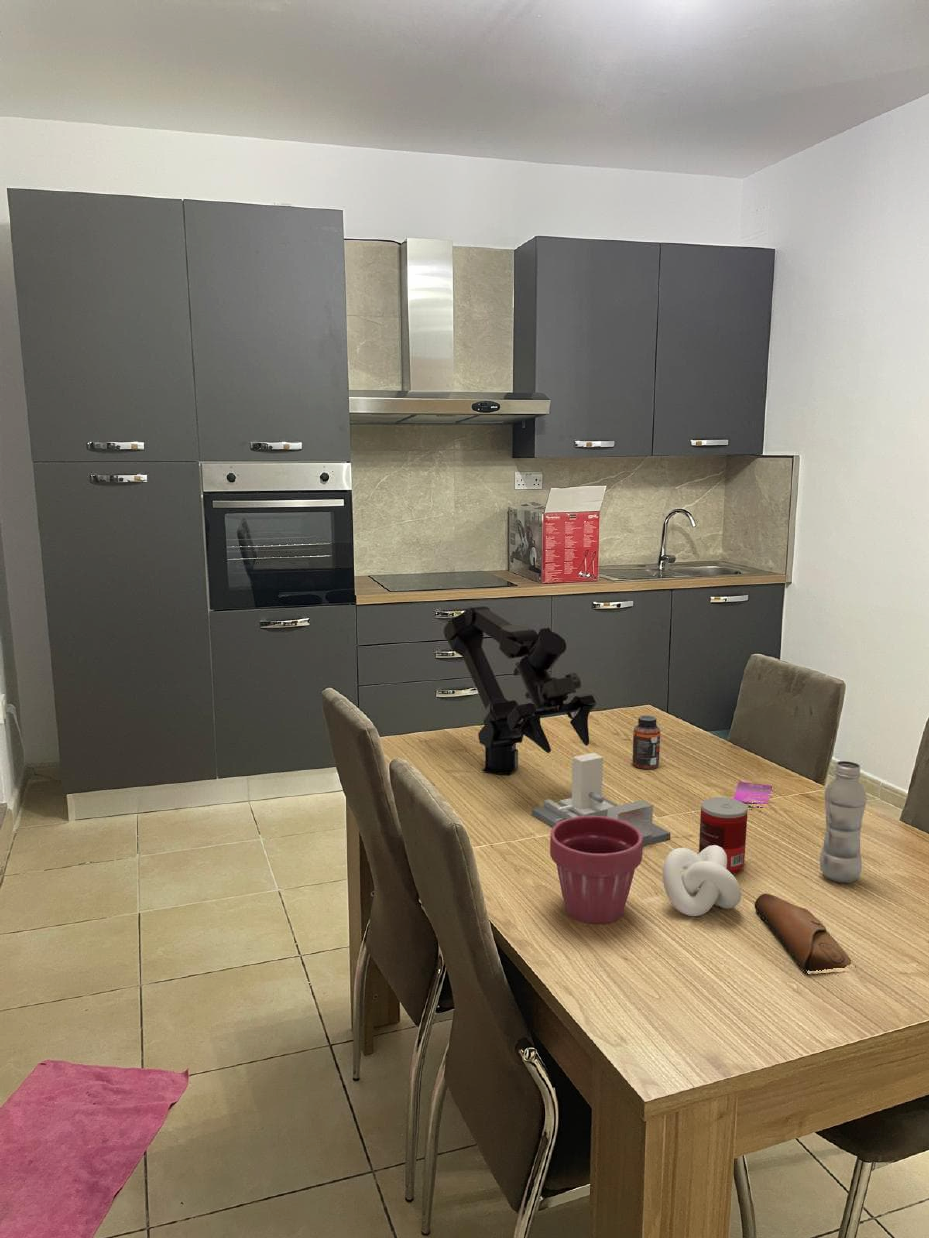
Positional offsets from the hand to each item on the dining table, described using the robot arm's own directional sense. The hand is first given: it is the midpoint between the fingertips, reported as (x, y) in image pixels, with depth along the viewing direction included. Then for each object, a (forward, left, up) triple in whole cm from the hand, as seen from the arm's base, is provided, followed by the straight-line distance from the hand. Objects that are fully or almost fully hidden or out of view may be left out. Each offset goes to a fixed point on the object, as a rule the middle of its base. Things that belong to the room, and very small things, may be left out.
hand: (568, 748), depth 182 cm
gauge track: (+8, -7, -13) cm, 16 cm away
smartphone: (+34, +20, -13) cm, 42 cm away
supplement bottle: (+10, +31, -13) cm, 35 cm away
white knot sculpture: (+30, -31, -13) cm, 45 cm away
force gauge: (+4, -5, -11) cm, 13 cm away
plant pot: (+14, -38, -13) cm, 43 cm away
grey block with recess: (+15, -12, -11) cm, 22 cm away
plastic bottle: (+50, -13, -13) cm, 54 cm away
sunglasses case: (+45, -36, -13) cm, 59 cm away
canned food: (+31, -15, -13) cm, 37 cm away
